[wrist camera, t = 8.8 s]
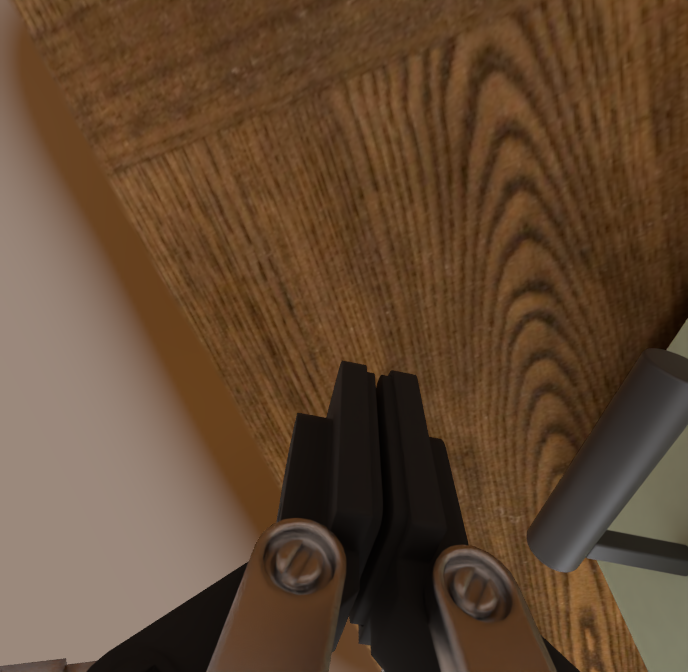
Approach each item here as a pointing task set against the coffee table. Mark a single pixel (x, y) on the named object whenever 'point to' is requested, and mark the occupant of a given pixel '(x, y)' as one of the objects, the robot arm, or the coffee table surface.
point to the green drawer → (633, 505)
